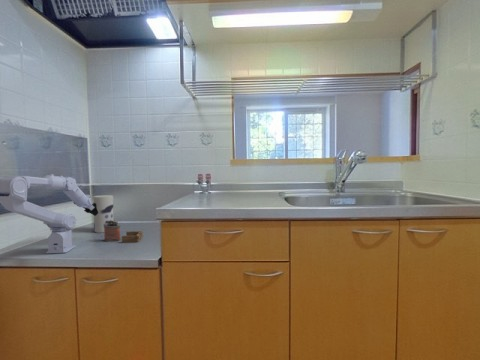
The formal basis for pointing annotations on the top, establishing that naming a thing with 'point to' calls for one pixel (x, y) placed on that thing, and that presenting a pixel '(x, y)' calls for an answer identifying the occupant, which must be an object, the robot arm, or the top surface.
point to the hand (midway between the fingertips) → (92, 210)
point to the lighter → (112, 231)
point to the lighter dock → (132, 236)
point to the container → (103, 212)
